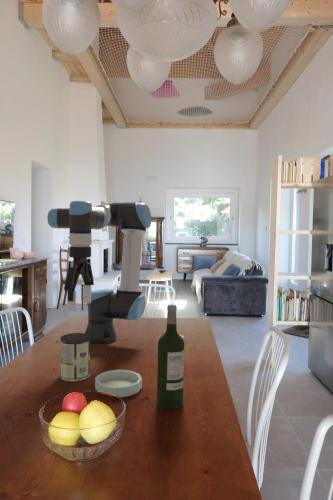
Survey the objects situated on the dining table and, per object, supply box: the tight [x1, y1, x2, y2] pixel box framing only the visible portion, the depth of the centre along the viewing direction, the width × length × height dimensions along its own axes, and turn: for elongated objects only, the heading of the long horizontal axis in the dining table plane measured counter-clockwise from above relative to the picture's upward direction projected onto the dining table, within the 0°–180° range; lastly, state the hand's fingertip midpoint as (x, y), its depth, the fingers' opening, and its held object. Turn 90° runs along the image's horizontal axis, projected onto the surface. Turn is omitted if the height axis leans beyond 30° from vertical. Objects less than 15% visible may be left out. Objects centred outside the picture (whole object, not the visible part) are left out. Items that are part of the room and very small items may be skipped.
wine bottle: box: [156, 303, 185, 410], centre depth 115 cm, size 8×8×30 cm
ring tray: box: [94, 369, 143, 398], centre depth 127 cm, size 15×15×3 cm
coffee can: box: [59, 332, 91, 382], centre depth 136 cm, size 10×10×14 cm
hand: (79, 306), depth 135 cm, fingers open, 13 cm apart
